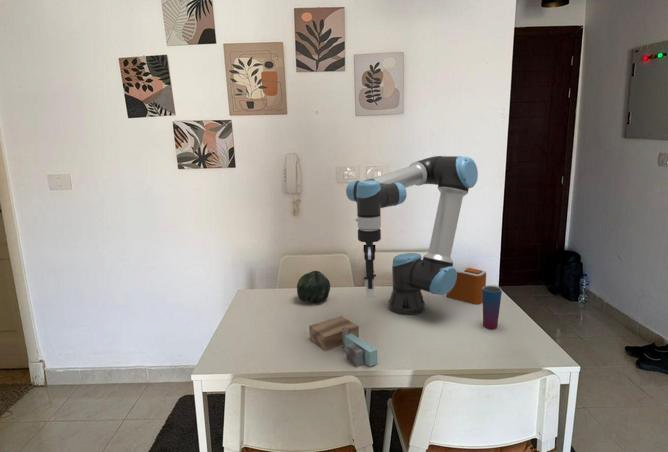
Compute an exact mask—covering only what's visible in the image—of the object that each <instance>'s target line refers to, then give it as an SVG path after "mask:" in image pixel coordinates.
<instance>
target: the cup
mask: <svg viewBox="0 0 668 452" xmlns="http://www.w3.org/2000/svg"><path fill="white" fill-rule="evenodd" d="M502 292H503V288H501V287H500V286H496V285H486V286H484V287H483V288H482V293H483V302H482V324H483V328H485V329H487V330H496V329H498V325H499V315H500V307H501V301H502V294H503V293H502Z"/></svg>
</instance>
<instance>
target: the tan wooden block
mask: <svg viewBox="0 0 668 452" xmlns="http://www.w3.org/2000/svg"><path fill="white" fill-rule="evenodd" d="M308 328H309V339H310V340H311V341H313V342H314V343H315V344H317V345H318V347H321V349H323V350H324V351H328V350H331V349H335V348H338V347H340V346H342V348H344V349H345V336H346V335H348V334H351V333H352V334H353V335H355V336H357V337H358V338H360V337H359V336H360V333H359V325H357V324H355V323H354V322H352V321H350V320H348V319H347V318H345V317H344V316H342V315H341V316H337V317H334V318H330V319H327V320H324V321H321V322H317V323H313V324H310V325H309V326H308ZM345 352H346V360H347V362H349V363H351V364H353V365H354V366H355V367H356V368H358V367H359V368H360V366H363V364H365V363H364V362H363V350H362V349H360V348H359V347H357V346H356V345H354V344H353V343H351V344H349V345H346V351H345Z"/></svg>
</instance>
